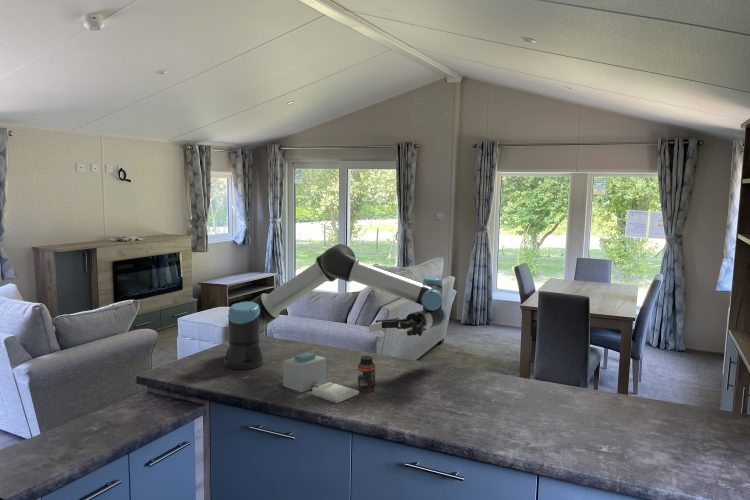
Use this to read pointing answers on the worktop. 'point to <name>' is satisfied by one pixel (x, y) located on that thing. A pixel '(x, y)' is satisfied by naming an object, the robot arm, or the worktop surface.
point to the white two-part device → (313, 378)
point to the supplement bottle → (366, 374)
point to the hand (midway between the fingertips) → (384, 331)
